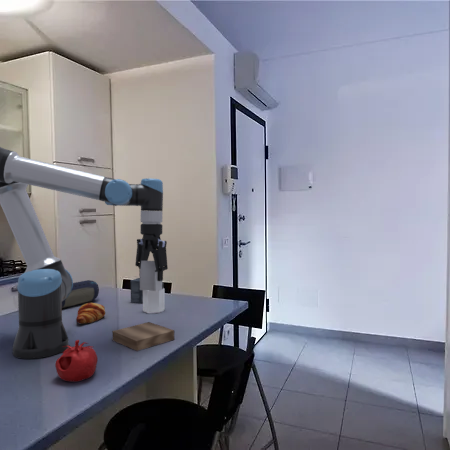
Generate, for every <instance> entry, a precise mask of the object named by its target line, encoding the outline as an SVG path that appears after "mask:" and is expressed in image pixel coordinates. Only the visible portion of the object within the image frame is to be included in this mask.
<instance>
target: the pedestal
mask: <svg viewBox="0 0 450 450" xmlns="http://www.w3.org/2000/svg"><path fill="white" fill-rule="evenodd" d="M174 340H175V329H171V328H168V327H165V326H162V325H159V324H156V323H153V322H150V321H148V322H144V323H140V324H139V323H138V324H135V325H132V326H126V327H123V328H119V329H115V330H112V341H113V342H116V343H117V344H120V345H122V346H124V347H126V348H129V349H131V350H133V351H136V352H138V351H141V350H145V349H149V348H152V347H154V346H157V345H161V344H164V343H168V342H171V341H174Z"/></svg>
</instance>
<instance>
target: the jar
mask: <svg viewBox="0 0 450 450" xmlns="http://www.w3.org/2000/svg"><path fill="white" fill-rule="evenodd" d="M165 291H166V290H165V288H164V281H162V290H159V291H152V290H143V303H142V311H143V312H144V313H147V314H160V313H163V312H164V311H165V309H166V307H165V306H166V304H165V303H166V301H165V300H166V299H165V298H166V297H165Z"/></svg>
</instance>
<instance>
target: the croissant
mask: <svg viewBox="0 0 450 450" xmlns="http://www.w3.org/2000/svg"><path fill="white" fill-rule="evenodd" d="M105 308H106V307H105V306H104V305H103V304H100V303H96V302H87V303H83V304H81V306H80V307H79V308H78V309H77V314H76V318H75V321H76V322H77V323H78V324H80V325H82V324H91V323H94V322H97V321H99V320H101V319H102V318H104V317H105V315H106V310H105Z"/></svg>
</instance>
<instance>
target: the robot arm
mask: <svg viewBox="0 0 450 450" xmlns="http://www.w3.org/2000/svg"><path fill="white" fill-rule="evenodd" d="M28 186H34V187H37V188H44V189H47V190H51V191H56V192H59V193H65V194H70V195H74V196H79V197H83V198H86V199H87V198H88V199H92V200H97V201H101V202H104V204H105V205H107V206H114V207H117V206H120V207H124V206H125V207H130V206H131V207H132V206H134V207H140V219H139V220H140V223H141V224H140V234H141V235H142V238H137V239H136V256H135V267H138V269H139V270H138V271H139V277H140V269H141V261H149V257H150V253H151V254H152V257H153V261H154V262H155V266H156V270H155V286H154V291H158V290H162V282H164V281H163V280H164V272H165V271H166V270H168V269H169V268H168V258H167V257H168V256H167V240H162V239H161V235H163V224H162V223H163V208H164V207H163V206H164V189H163V188H164V184H163V181H162V180H161V179H159V178H149V177H148V178H142V179H141V180H140V183H137V184H135V183H128V181H126V180H124V179H120V178H111V177H108V176H107V177H106V176H103V175H100V174H95V173H91V172H87V171H82V170H79V169H75V168H71V167H66V166H61V165H58V164H53V163H49V162H45V161H41V160H37V159H32V158H30V157H29V158H28V157H23V156H21V155H19V153H18V152H17V151H15V150H11V149H6V148H3V147H1V146H0V207H1V208H2V211H3V213H4V216H5V218H6V220H7V222H8V225H9V227H10V229H11V231H12V234H13V236H14V239H15V241H16V244H17V245H18V247H19V250H20V252H21V256H22V257H23V259H24V262H25V264H26V269H25V271H24V273H22V274H21V275H20V276H19V277H18V279H17V295H18V296H17V300H18V301H17V302H18V305H17V306H18V328H17V332H16V335H15V338H14V341H13V345H12V356H14V357H15V358H17V359H18V358H19V359H24V360H25V359H26V360H28V359H29V360H30V359H39V358H40V359H41V358H42V359H43V358H47V357H52V356H54V355H57V354H58V355H59V354H60V353H63V352H64V351H65V350H66V349H67V348H69V347H63V346H70V344H69V342H70V341H69V340H70V339H69V336H68V334H67V332H66V329H65V326H64V323H63V312H62V311H63V308H62V301H63V300H65V299H66V298H67V297H68V296H69V294H70V292H71V290H72V287H73V283H74V280H73V279H74V278H73V277H72V274H71V273H70V272H69V271H68V270H67V269H66V268H65V266H64V264H63V261H62V259H61V258H59V257H57V256H55V255H54V252H53V251H52V248H51V245H50V243H49V241H48V238H47V236H46V233H45V232H44V229H43V227H42V224H41V222H40V220H39V217H38V216H37V215H38V214H37V213H36V210H35V208H34V206H33V203H32V201H31V199H30V197H29V194H28V192H27V188H28ZM159 267H160V268H159Z"/></svg>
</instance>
